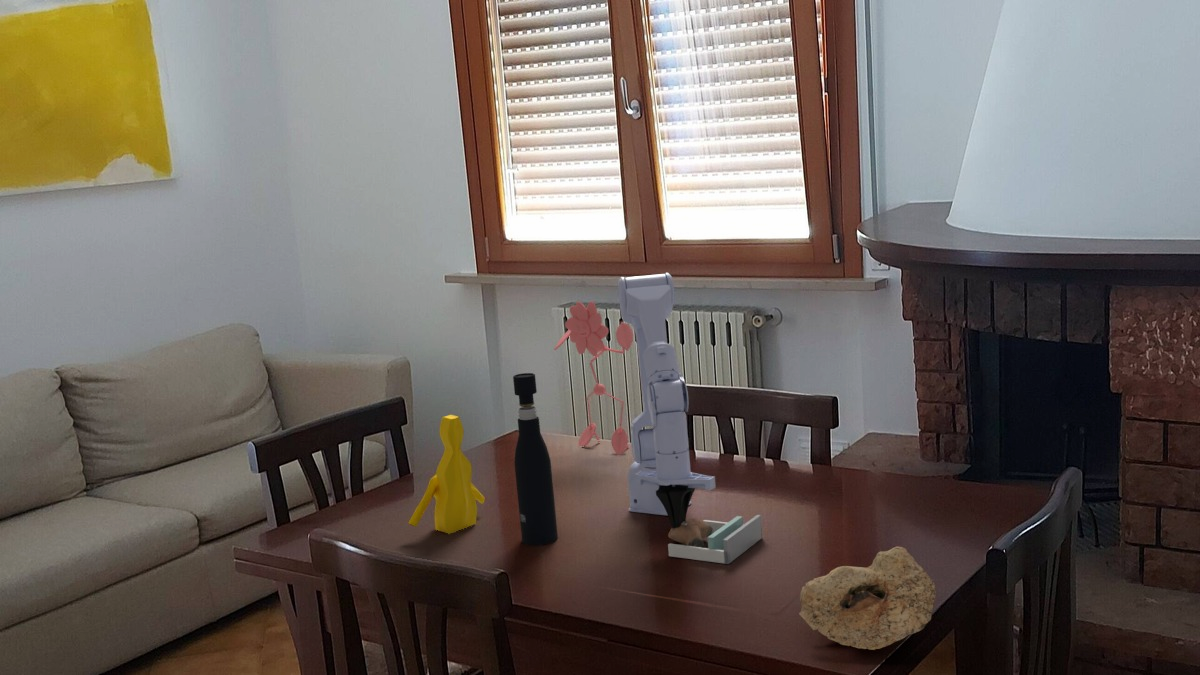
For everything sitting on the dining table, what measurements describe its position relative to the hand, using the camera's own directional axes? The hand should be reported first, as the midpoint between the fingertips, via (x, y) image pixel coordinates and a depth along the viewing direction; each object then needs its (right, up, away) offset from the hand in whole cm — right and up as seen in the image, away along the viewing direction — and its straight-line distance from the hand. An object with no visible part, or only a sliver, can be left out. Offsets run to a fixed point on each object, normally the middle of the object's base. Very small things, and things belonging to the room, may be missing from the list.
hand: (678, 527), depth 199 cm
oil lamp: (-2, -1, +1) cm, 2 cm away
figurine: (-15, +6, +61) cm, 63 cm away
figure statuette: (-40, -4, +18) cm, 44 cm away
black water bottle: (-24, -4, +8) cm, 26 cm away
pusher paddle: (+7, -3, -4) cm, 9 cm away
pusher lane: (+6, -3, -3) cm, 7 cm away
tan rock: (+25, -8, -38) cm, 47 cm away
